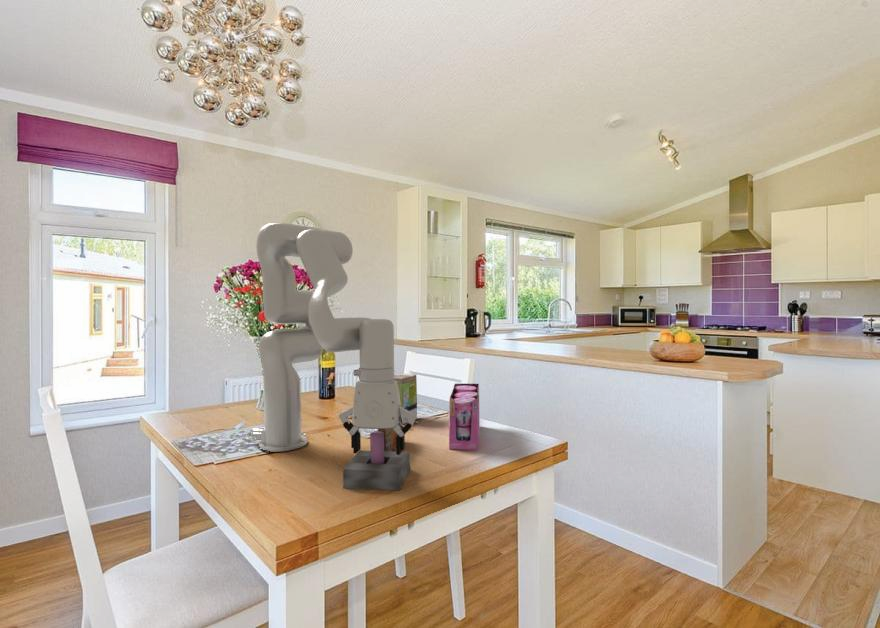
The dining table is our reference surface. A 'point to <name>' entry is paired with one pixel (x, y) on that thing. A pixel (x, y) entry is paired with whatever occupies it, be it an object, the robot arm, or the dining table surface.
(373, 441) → the peg
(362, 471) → the hole block
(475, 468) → the dining table surface
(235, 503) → the dining table surface
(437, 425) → the dining table surface
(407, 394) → the tea box
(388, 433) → the tin
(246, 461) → the dining table surface
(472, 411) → the gum box
